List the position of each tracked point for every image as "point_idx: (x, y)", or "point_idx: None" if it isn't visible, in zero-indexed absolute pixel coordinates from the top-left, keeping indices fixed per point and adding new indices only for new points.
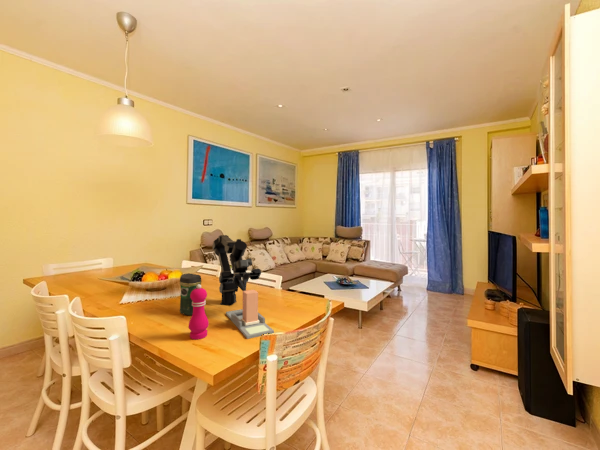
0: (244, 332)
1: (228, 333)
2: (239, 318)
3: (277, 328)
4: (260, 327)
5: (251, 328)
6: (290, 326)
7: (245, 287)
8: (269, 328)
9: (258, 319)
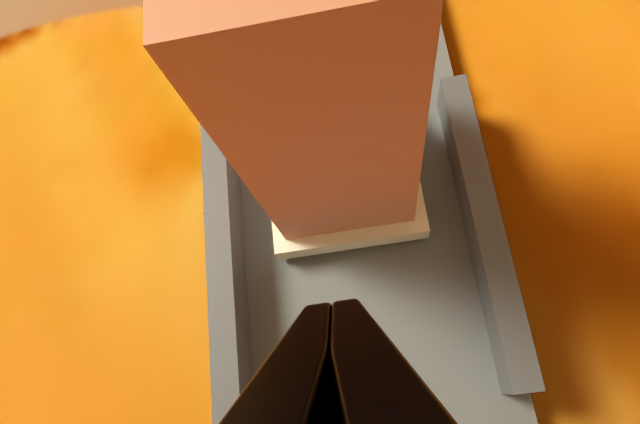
0: None
1: (559, 79)
2: (431, 340)
3: None
4: None
5: None
6: (55, 71)
7: (290, 348)
8: None
9: (244, 238)
